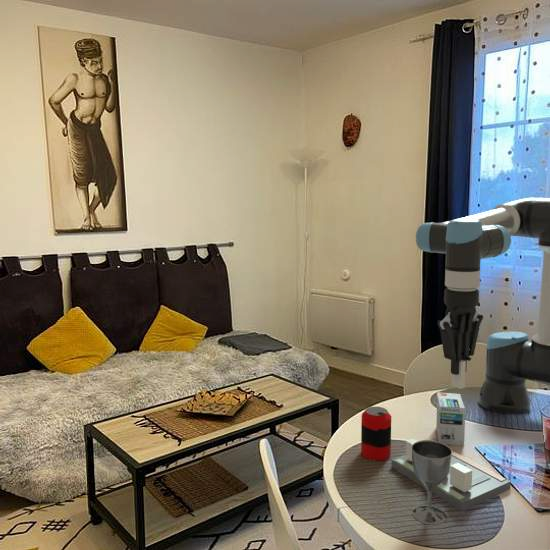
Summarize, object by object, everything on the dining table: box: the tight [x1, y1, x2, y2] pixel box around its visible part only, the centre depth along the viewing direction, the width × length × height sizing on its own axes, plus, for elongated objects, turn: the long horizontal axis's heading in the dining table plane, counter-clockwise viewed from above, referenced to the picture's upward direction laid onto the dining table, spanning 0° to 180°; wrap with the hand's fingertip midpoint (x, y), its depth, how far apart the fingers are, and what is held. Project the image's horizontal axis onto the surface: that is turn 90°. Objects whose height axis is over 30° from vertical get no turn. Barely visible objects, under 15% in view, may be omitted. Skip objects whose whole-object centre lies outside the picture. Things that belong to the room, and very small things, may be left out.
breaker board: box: [391, 450, 511, 512], centre depth 131 cm, size 16×22×2 cm
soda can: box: [360, 406, 392, 462], centre depth 142 cm, size 8×8×12 cm
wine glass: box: [411, 439, 452, 526], centre depth 116 cm, size 8×8×15 cm
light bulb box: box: [435, 391, 466, 446], centre depth 152 cm, size 11×7×11 cm, turn 168°
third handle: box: [450, 463, 472, 492], centre depth 123 cm, size 2×4×4 cm, turn 31°
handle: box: [405, 438, 419, 461], centre depth 135 cm, size 2×4×4 cm, turn 31°
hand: (458, 386), depth 129 cm, fingers closed
